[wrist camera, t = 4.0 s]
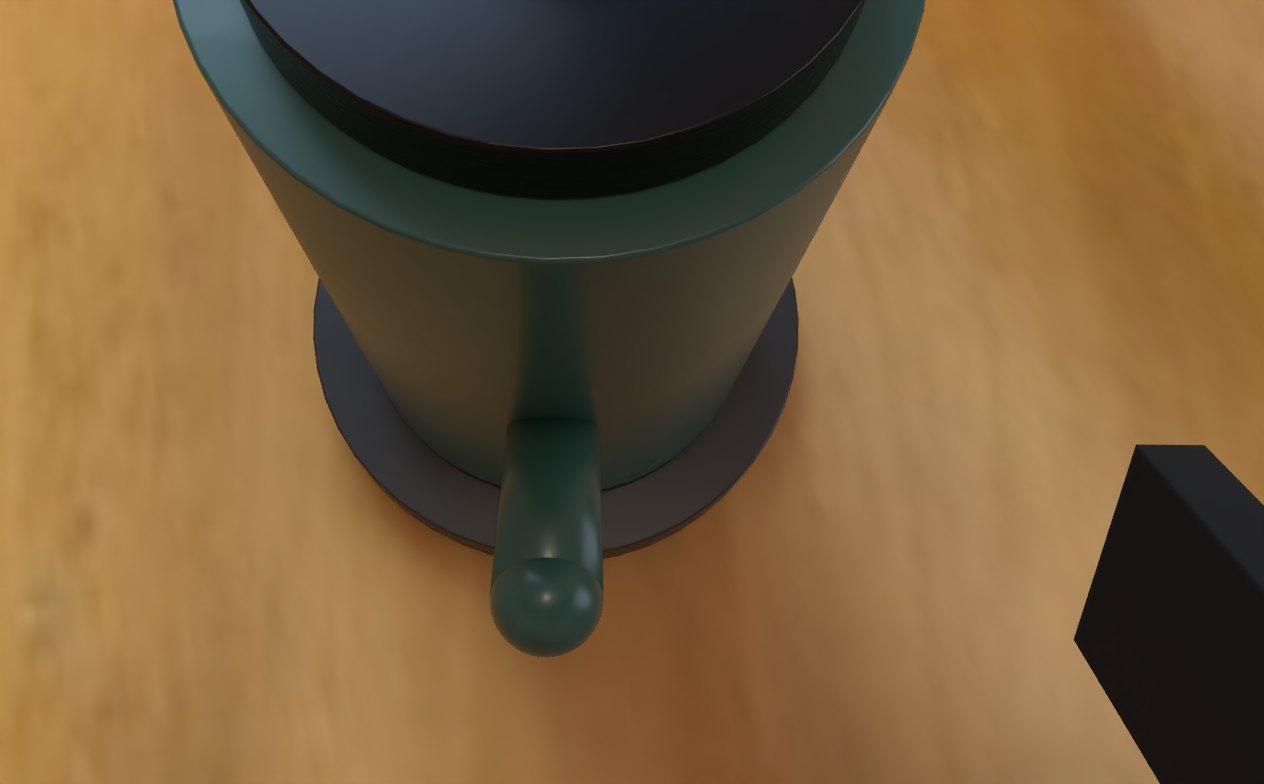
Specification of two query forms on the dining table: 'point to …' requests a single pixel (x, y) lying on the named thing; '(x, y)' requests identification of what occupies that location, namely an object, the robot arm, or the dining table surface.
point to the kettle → (553, 221)
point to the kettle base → (626, 509)
